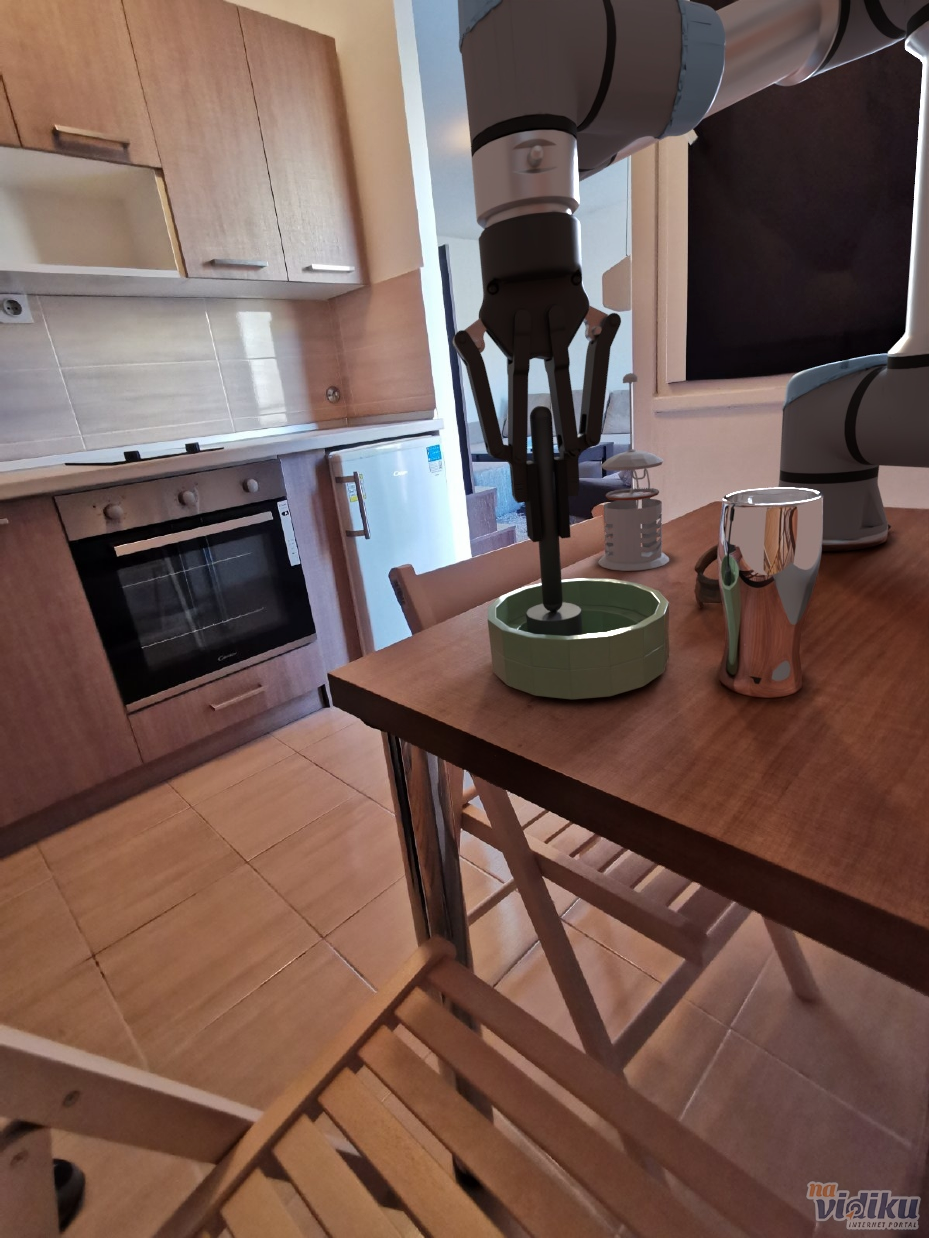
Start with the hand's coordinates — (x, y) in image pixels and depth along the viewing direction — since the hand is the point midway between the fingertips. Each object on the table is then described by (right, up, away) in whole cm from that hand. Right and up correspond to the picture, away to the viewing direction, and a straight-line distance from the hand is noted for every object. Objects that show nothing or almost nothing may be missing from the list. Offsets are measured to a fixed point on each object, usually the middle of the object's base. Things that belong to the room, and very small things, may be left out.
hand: (548, 536), depth 51 cm
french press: (+17, +1, +34) cm, 38 cm away
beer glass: (+17, -12, -3) cm, 21 cm away
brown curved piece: (+23, -6, +13) cm, 27 cm away
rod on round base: (+1, -9, +3) cm, 9 cm away
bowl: (+3, -12, +3) cm, 12 cm away
